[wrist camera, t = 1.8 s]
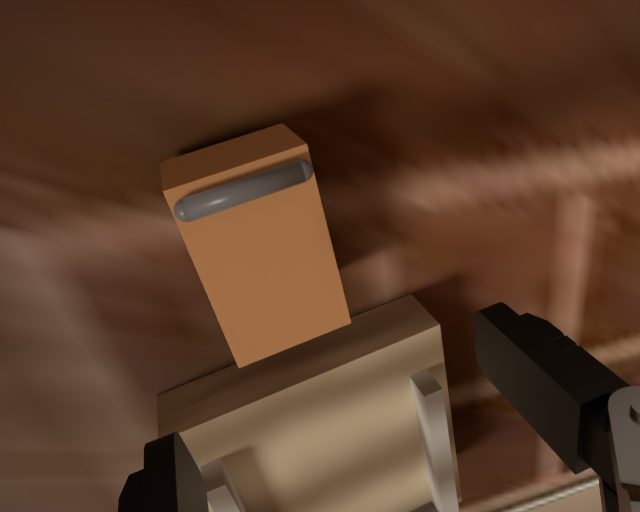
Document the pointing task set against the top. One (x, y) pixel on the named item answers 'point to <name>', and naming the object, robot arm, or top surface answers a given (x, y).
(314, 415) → the dock
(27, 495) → the top surface
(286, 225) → the orange box with handle
